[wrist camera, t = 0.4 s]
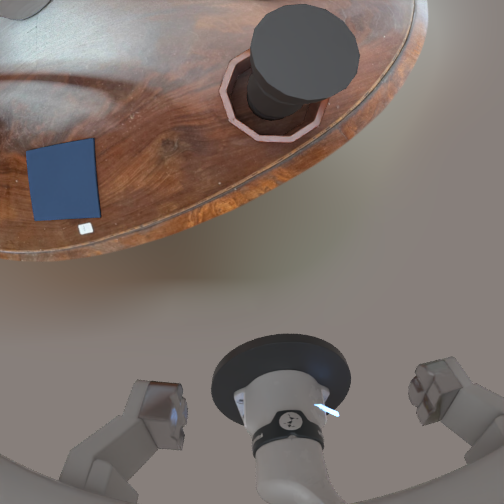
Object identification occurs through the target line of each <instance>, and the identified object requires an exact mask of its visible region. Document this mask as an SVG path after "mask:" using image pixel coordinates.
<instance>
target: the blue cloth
mask: <svg viewBox="0 0 504 504" xmlns="http://www.w3.org/2000/svg"><path fill="white" fill-rule="evenodd" d="M26 157H27V169H28V178H29V187H30V195H31V201H32V208H33V214H34V220H35V221H41V220H58V219H77V218H99V217H101V212H100V203H99V195H98V185H97V174H96V160H95V142H94V138H90V139H84V140H78V141H73V142H67V143H62V144H57V145H52V146H47V147H43V148H38V149H34V150H30V151H26Z"/></svg>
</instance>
